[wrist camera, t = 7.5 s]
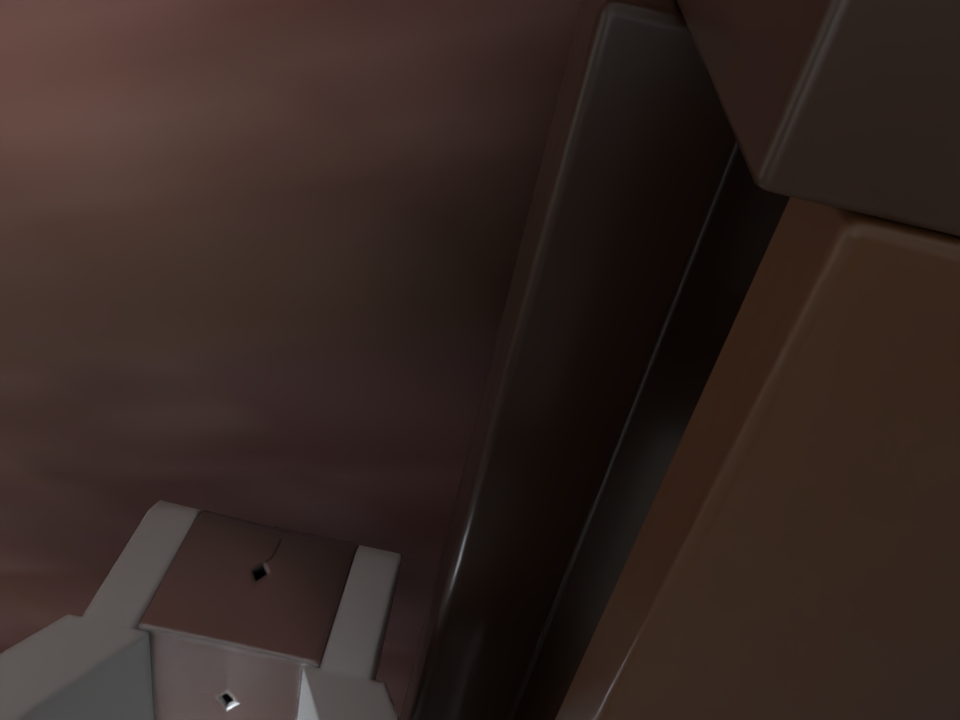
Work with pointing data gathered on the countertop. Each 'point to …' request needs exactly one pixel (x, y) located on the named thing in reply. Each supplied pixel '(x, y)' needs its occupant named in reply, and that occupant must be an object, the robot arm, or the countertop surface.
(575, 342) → the rack
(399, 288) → the countertop surface
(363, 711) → the robot arm
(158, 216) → the countertop surface
